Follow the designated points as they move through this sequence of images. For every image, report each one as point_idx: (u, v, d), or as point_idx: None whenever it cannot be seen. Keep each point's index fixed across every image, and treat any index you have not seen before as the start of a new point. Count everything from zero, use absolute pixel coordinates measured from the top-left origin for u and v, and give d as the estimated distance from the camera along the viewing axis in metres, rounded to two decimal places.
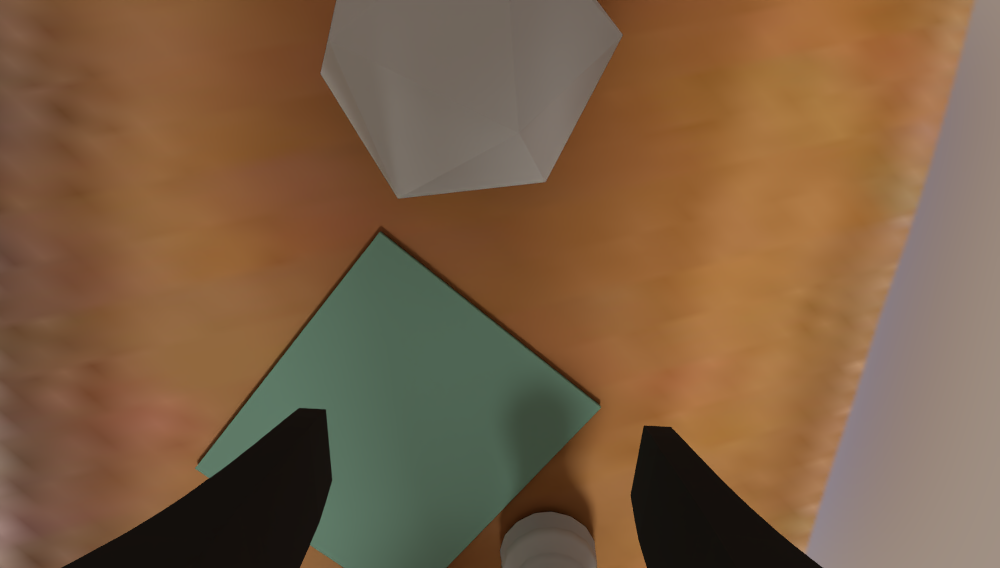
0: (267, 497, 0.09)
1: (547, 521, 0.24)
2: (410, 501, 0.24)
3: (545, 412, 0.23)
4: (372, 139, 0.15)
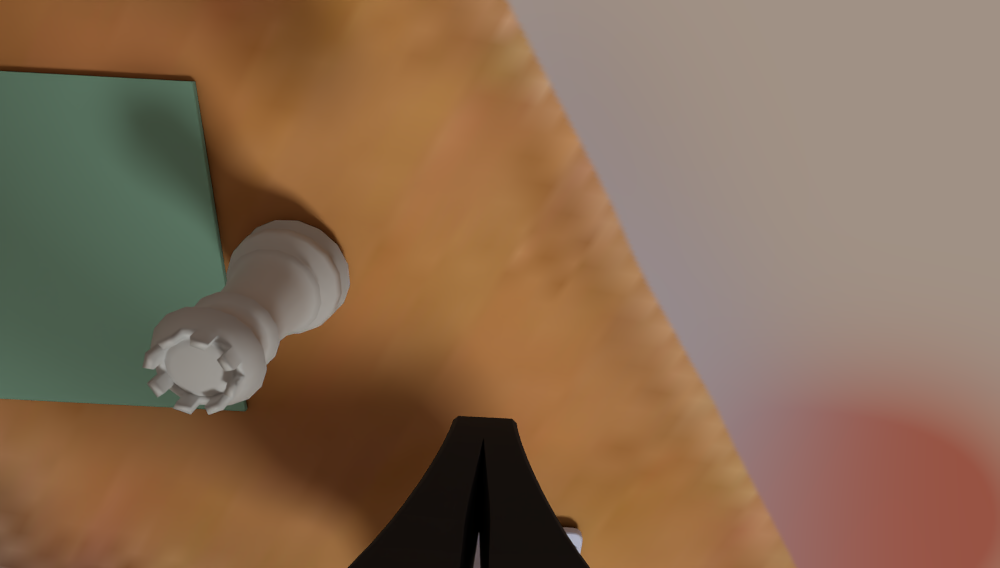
0: (470, 507, 0.09)
1: None
2: (145, 309, 0.22)
3: (153, 129, 0.19)
4: None
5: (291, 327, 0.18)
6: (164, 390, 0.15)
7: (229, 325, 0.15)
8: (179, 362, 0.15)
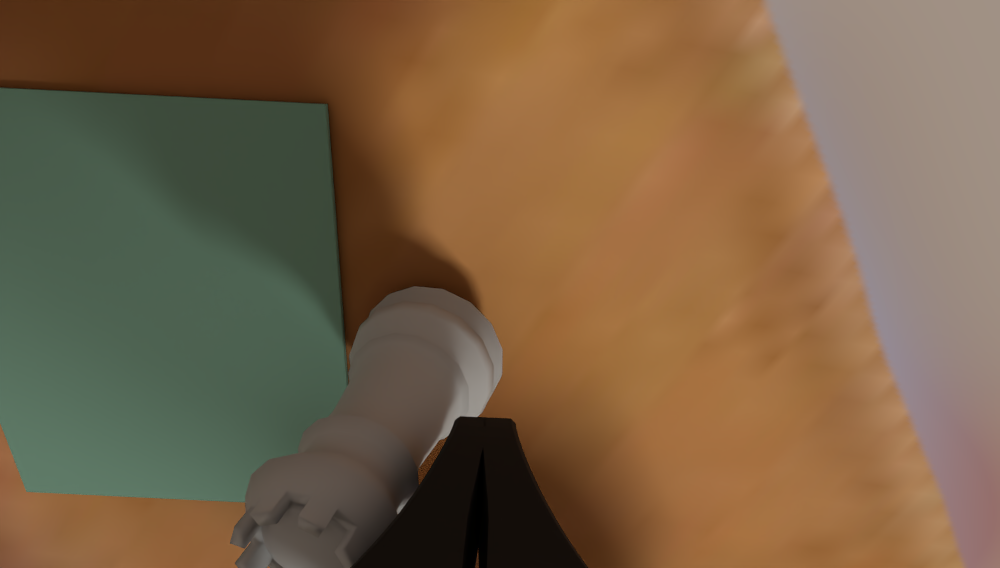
0: (472, 507, 0.09)
1: None
2: (241, 389, 0.18)
3: (268, 166, 0.15)
4: None
5: (430, 450, 0.13)
6: None
7: (355, 492, 0.09)
8: (281, 537, 0.10)
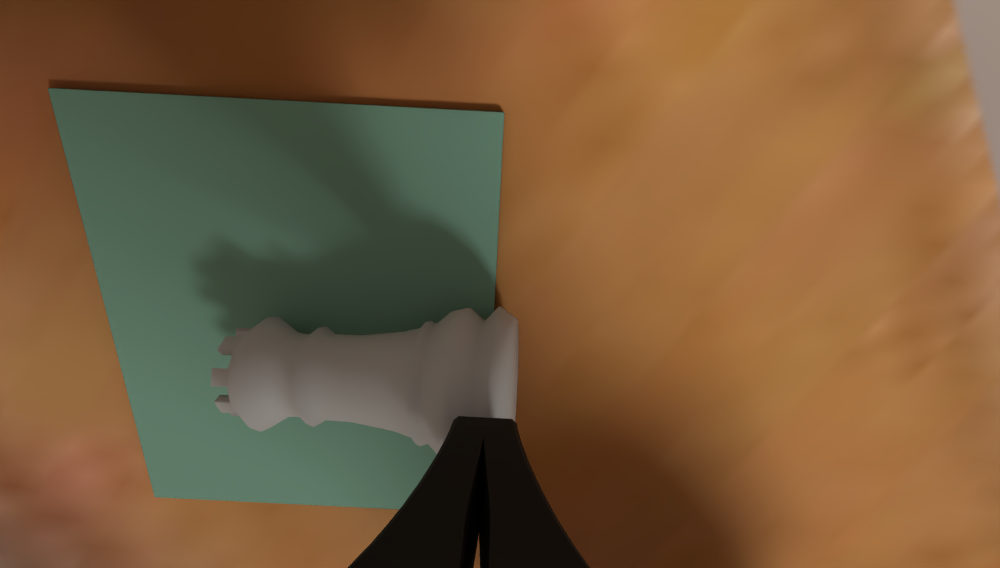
0: (470, 507, 0.09)
1: None
2: None
3: (439, 173, 0.15)
4: None
5: (361, 419, 0.14)
6: None
7: (238, 351, 0.14)
8: None
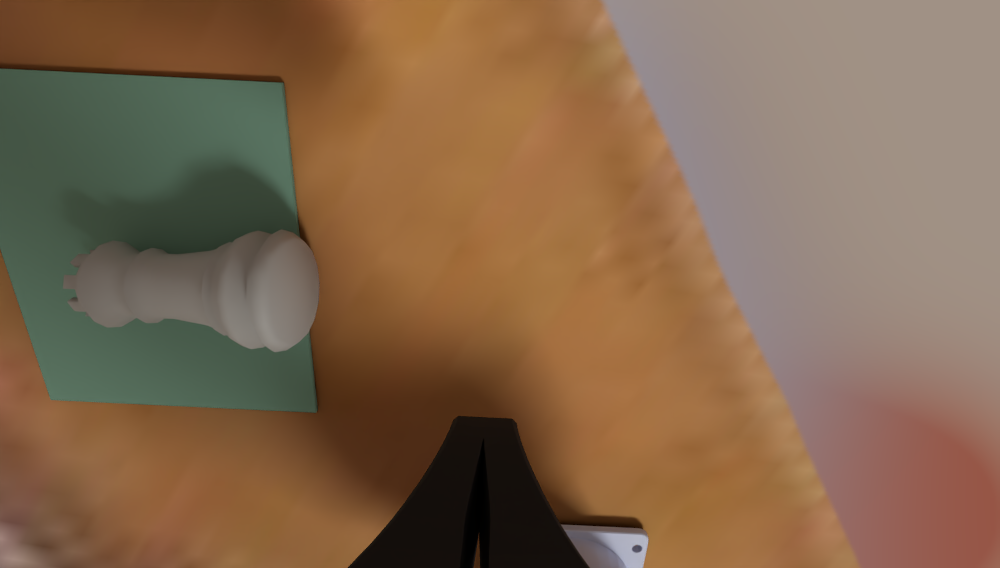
0: (469, 507, 0.09)
1: None
2: None
3: (240, 130, 0.19)
4: None
5: (177, 313, 0.19)
6: None
7: (83, 261, 0.19)
8: None
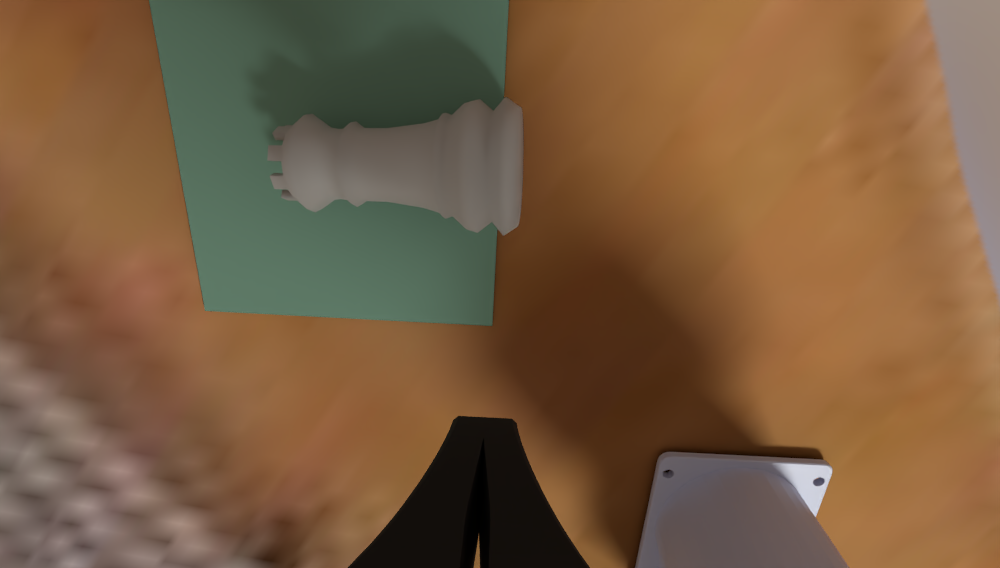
0: (470, 507, 0.09)
1: None
2: (406, 206, 0.20)
3: None
4: None
5: (393, 188, 0.17)
6: None
7: (291, 130, 0.17)
8: None
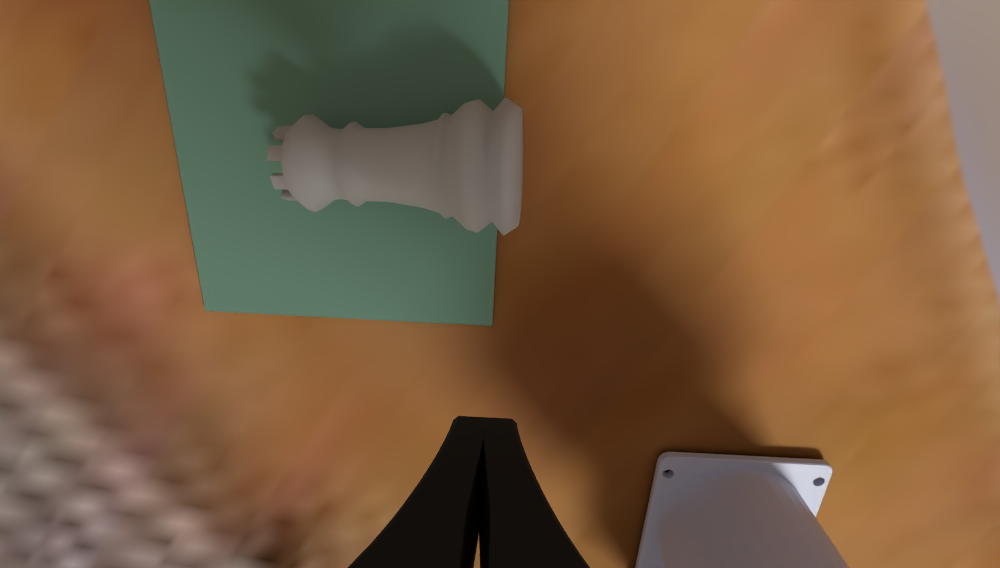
0: (470, 507, 0.09)
1: None
2: (406, 206, 0.20)
3: None
4: None
5: (393, 188, 0.17)
6: None
7: (291, 130, 0.17)
8: None
